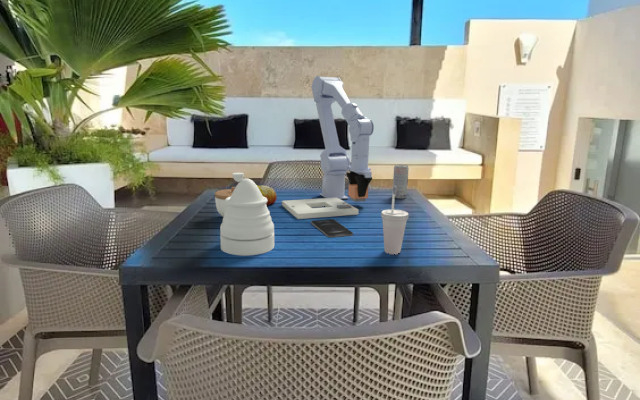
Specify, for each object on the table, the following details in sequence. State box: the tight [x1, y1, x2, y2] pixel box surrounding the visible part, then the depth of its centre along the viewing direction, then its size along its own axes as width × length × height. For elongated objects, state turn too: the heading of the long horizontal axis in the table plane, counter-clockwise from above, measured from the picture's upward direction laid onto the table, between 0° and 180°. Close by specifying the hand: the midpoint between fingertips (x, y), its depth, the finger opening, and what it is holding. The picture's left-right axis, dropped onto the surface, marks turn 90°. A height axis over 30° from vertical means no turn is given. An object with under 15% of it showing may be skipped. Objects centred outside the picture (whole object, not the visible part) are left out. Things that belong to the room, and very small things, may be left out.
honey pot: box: [219, 172, 275, 256], centre depth 103 cm, size 13×13×18 cm
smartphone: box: [310, 218, 354, 239], centre depth 120 cm, size 8×1×15 cm
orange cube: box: [347, 183, 369, 203], centre depth 147 cm, size 5×5×5 cm
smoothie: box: [380, 194, 410, 255], centre depth 101 cm, size 6×6×14 cm
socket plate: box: [281, 197, 360, 220], centre depth 141 cm, size 18×20×2 cm
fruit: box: [256, 184, 278, 206], centre depth 148 cm, size 11×10×8 cm
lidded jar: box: [214, 186, 236, 219], centre depth 129 cm, size 11×11×9 cm
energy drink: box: [391, 164, 409, 200], centre depth 161 cm, size 5×5×12 cm
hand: (358, 194), depth 147 cm, fingers closed on orange cube, 5 cm apart
